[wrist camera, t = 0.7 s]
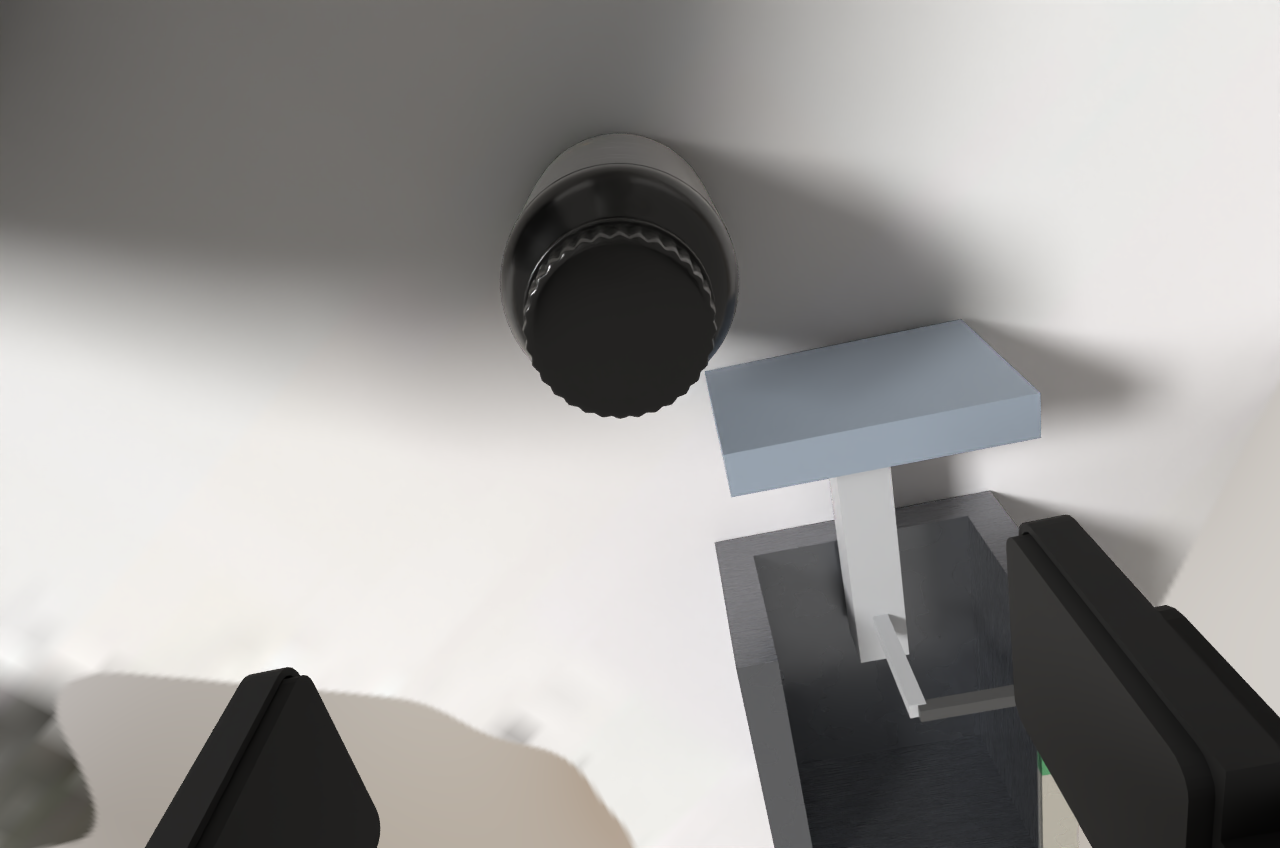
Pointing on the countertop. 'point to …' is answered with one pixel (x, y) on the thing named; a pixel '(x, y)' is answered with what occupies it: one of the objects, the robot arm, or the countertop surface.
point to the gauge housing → (888, 691)
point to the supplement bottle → (619, 276)
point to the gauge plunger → (873, 456)
